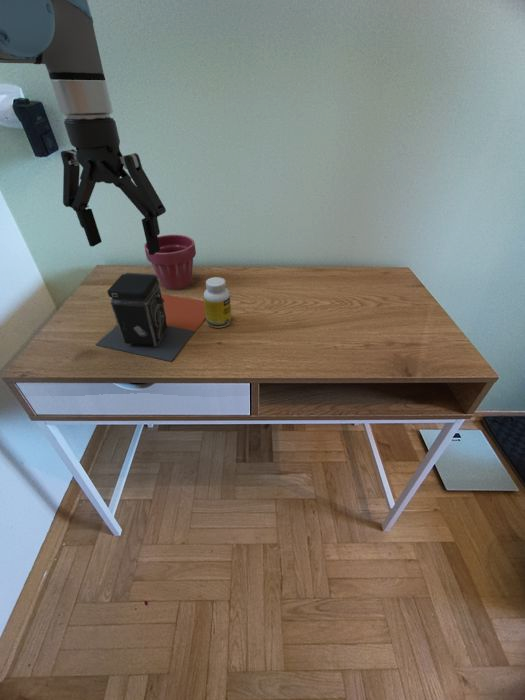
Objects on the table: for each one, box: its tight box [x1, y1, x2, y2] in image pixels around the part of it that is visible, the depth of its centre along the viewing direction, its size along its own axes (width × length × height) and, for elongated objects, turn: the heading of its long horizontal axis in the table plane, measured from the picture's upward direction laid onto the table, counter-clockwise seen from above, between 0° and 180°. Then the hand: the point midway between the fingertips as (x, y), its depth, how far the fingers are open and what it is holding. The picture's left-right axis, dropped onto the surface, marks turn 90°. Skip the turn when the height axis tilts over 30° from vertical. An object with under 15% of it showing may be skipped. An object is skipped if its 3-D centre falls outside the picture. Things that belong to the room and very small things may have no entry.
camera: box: [106, 272, 168, 347], centre depth 74 cm, size 10×10×15 cm
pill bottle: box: [203, 276, 232, 329], centre depth 80 cm, size 6×6×12 cm
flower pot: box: [143, 234, 197, 291], centre depth 96 cm, size 14×14×13 cm
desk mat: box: [95, 293, 206, 363], centre depth 83 cm, size 20×26×1 cm
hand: (124, 248), depth 64 cm, fingers open, 13 cm apart
